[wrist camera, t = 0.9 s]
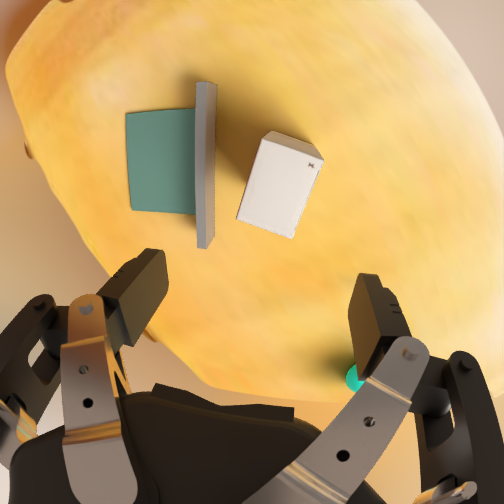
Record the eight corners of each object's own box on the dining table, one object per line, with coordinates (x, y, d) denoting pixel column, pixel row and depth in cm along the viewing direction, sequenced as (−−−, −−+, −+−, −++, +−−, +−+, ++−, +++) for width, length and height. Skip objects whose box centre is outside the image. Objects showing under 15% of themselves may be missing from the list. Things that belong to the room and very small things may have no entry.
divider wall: (207, 85, 28) (196, 82, 25) (217, 84, 28) (207, 81, 25) (206, 234, 38) (197, 248, 34) (214, 235, 38) (206, 249, 34)
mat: (127, 114, 31) (125, 114, 31) (203, 108, 30) (202, 108, 30) (133, 209, 38) (131, 210, 37) (203, 214, 37) (202, 215, 36)
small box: (271, 129, 30) (261, 135, 21) (316, 145, 30) (326, 158, 21) (250, 189, 34) (233, 220, 25) (293, 204, 34) (292, 241, 25)
